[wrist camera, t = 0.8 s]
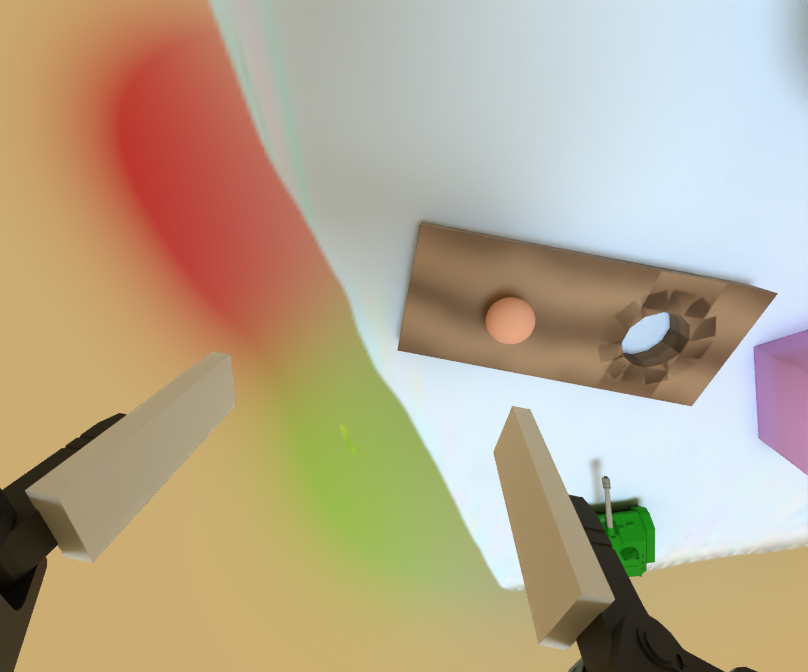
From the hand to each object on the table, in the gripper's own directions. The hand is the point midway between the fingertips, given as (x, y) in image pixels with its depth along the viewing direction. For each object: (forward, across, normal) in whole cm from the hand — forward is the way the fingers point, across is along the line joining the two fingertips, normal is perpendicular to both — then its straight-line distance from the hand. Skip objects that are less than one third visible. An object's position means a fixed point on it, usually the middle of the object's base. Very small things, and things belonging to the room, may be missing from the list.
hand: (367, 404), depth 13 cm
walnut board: (+18, +16, 0) cm, 24 cm away
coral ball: (+14, +10, 0) cm, 17 cm away
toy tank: (+19, +33, -25) cm, 45 cm away
